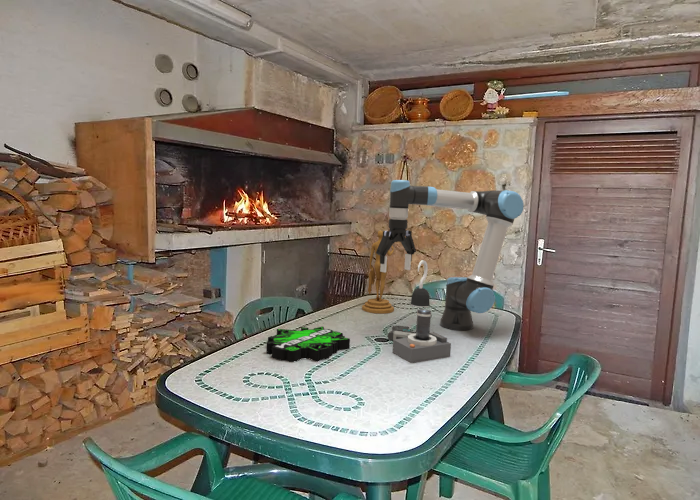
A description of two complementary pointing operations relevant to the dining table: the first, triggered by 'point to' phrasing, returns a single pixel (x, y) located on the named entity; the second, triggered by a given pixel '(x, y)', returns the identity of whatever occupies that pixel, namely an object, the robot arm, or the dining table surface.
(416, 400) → the dining table surface
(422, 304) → the hook
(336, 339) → the sign
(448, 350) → the camera body
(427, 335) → the lens
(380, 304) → the statue
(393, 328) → the handgun
